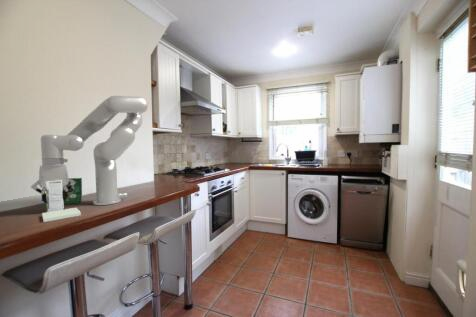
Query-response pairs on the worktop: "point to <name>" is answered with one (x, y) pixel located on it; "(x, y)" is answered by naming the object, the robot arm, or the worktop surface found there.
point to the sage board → (60, 214)
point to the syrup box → (54, 195)
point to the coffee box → (74, 192)
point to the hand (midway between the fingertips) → (55, 200)
